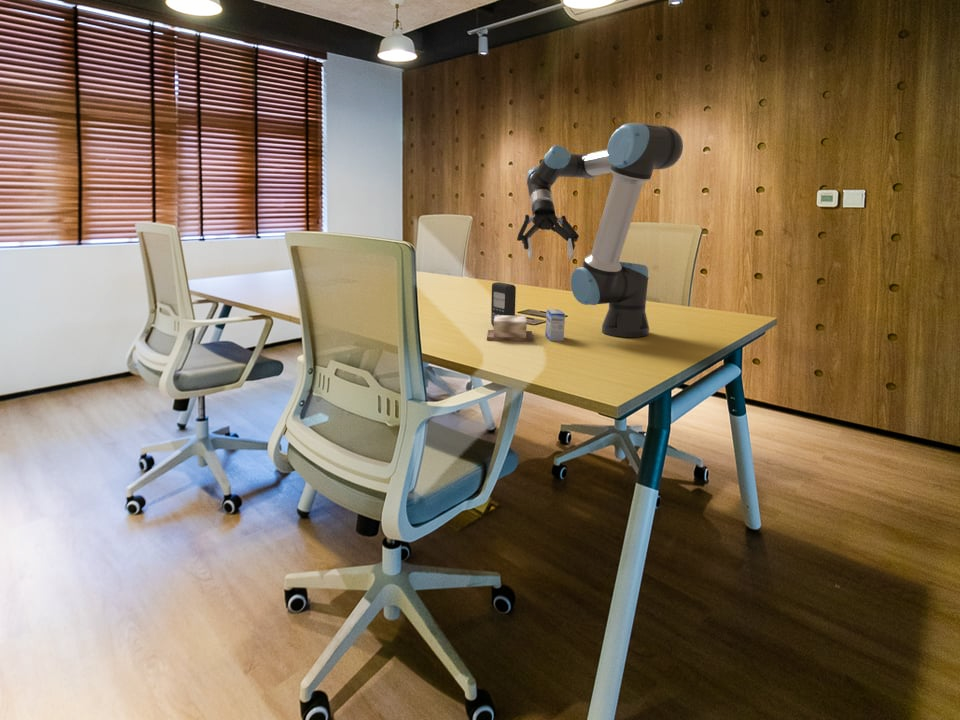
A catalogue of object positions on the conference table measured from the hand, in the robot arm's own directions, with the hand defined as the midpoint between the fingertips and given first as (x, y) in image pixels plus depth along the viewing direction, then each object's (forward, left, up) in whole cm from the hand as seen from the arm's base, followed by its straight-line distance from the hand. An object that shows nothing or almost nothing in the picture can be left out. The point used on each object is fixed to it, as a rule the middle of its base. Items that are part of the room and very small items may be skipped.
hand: (551, 256), depth 194 cm
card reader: (+15, -4, -25) cm, 29 cm away
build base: (+13, +10, -25) cm, 29 cm away
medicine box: (-1, +10, -25) cm, 27 cm away
